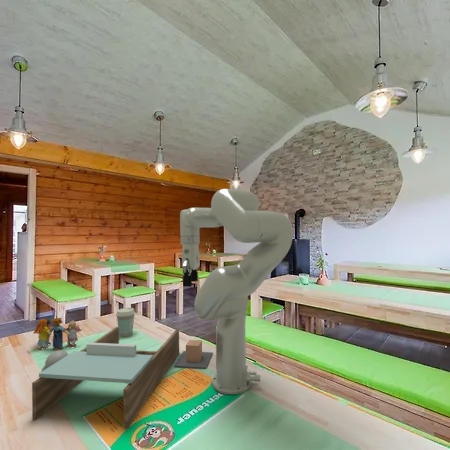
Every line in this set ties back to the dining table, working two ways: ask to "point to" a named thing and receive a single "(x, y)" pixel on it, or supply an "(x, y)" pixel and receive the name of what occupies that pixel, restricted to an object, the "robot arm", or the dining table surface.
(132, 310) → the coffee cup
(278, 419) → the dining table surface
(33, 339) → the dining table surface
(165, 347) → the wooden shelf frame
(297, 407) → the dining table surface
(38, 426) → the dining table surface
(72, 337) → the doll family
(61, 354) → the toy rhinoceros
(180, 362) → the rubber mat
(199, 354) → the terracotta block
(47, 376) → the sliding cover
